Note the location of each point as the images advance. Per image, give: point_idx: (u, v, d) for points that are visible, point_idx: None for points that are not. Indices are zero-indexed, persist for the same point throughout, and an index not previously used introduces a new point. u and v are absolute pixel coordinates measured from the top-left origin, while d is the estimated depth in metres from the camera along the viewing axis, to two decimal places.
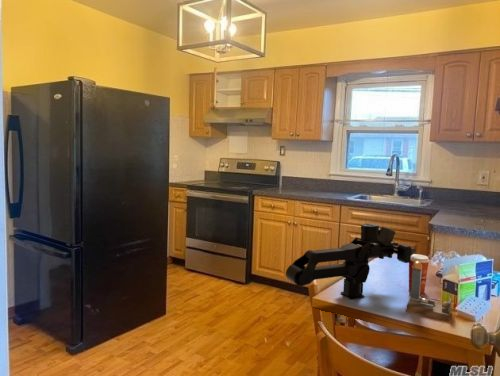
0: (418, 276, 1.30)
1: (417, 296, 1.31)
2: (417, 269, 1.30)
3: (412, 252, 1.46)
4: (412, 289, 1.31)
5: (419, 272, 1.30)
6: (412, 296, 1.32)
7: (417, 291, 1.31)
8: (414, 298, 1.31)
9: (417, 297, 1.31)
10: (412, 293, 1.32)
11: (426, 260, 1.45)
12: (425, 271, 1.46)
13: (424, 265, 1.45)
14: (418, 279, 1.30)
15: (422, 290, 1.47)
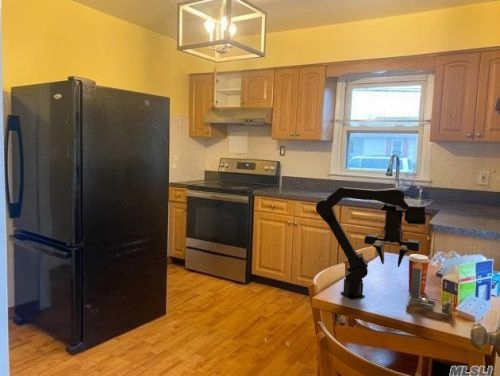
0: (418, 276, 1.30)
1: (417, 296, 1.31)
2: (417, 269, 1.30)
3: (401, 260, 1.36)
4: (412, 289, 1.31)
5: (419, 272, 1.30)
6: (412, 296, 1.32)
7: (417, 291, 1.31)
8: (414, 298, 1.31)
9: (417, 297, 1.31)
10: (412, 293, 1.32)
11: (426, 260, 1.45)
12: (425, 271, 1.46)
13: (424, 265, 1.45)
14: (418, 279, 1.30)
15: (422, 290, 1.47)
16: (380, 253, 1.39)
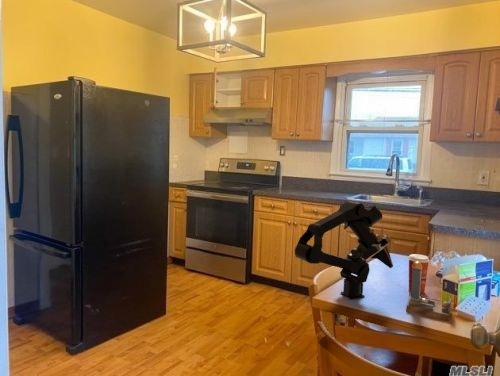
0: (418, 276, 1.30)
1: (417, 296, 1.31)
2: (417, 269, 1.30)
3: None
4: (412, 289, 1.31)
5: (419, 272, 1.30)
6: (412, 296, 1.32)
7: (417, 291, 1.31)
8: (414, 298, 1.31)
9: (417, 297, 1.31)
10: (412, 293, 1.32)
11: (426, 260, 1.45)
12: (425, 271, 1.46)
13: (424, 265, 1.45)
14: (418, 279, 1.30)
15: (422, 290, 1.47)
16: (387, 254, 1.36)
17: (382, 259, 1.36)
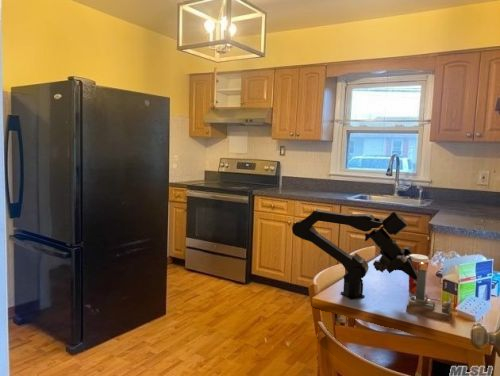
0: (423, 277, 1.29)
1: (422, 297, 1.30)
2: (423, 270, 1.29)
3: None
4: (417, 290, 1.31)
5: (424, 273, 1.29)
6: (417, 297, 1.31)
7: (422, 292, 1.30)
8: (419, 299, 1.30)
9: (422, 298, 1.30)
10: (417, 294, 1.31)
11: (426, 260, 1.45)
12: None
13: None
14: (423, 279, 1.29)
15: None
16: (412, 266, 1.32)
17: (406, 271, 1.32)
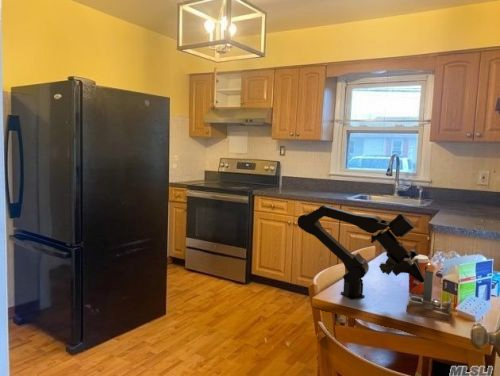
0: (430, 278, 1.28)
1: (429, 299, 1.29)
2: (430, 271, 1.28)
3: None
4: (424, 291, 1.29)
5: (431, 274, 1.28)
6: (424, 299, 1.30)
7: (429, 293, 1.29)
8: (426, 301, 1.29)
9: (430, 300, 1.29)
10: (424, 295, 1.30)
11: (426, 260, 1.45)
12: None
13: (424, 265, 1.45)
14: (431, 281, 1.28)
15: (422, 290, 1.47)
16: (418, 268, 1.30)
17: (413, 273, 1.31)
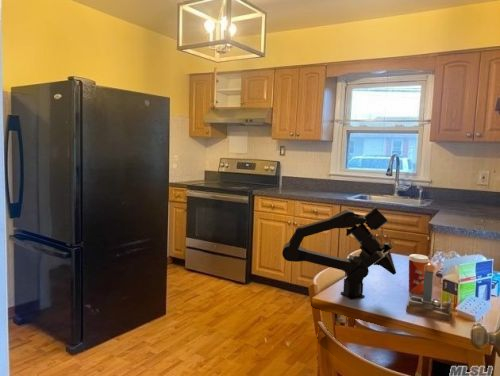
0: (430, 278, 1.28)
1: (429, 299, 1.29)
2: (430, 271, 1.28)
3: None
4: (424, 291, 1.29)
5: (431, 274, 1.28)
6: (424, 299, 1.30)
7: (429, 293, 1.29)
8: (426, 301, 1.29)
9: (430, 300, 1.29)
10: (424, 295, 1.30)
11: (426, 260, 1.45)
12: None
13: (424, 265, 1.45)
14: (431, 281, 1.28)
15: (422, 290, 1.47)
16: (390, 261, 1.35)
17: (385, 266, 1.36)
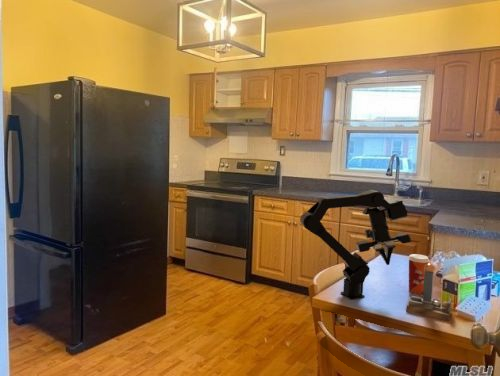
0: (430, 278, 1.28)
1: (429, 299, 1.29)
2: (430, 271, 1.28)
3: None
4: (424, 291, 1.29)
5: (431, 274, 1.28)
6: (424, 299, 1.30)
7: (429, 293, 1.29)
8: (426, 301, 1.29)
9: (430, 300, 1.29)
10: (424, 295, 1.30)
11: (426, 260, 1.45)
12: None
13: (424, 265, 1.45)
14: (431, 281, 1.28)
15: (422, 290, 1.47)
16: (384, 255, 1.39)
17: (381, 254, 1.42)
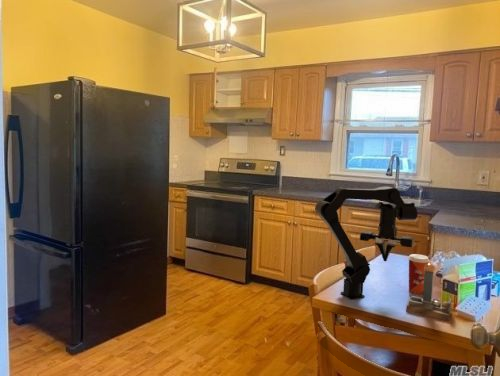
0: (430, 278, 1.28)
1: (429, 299, 1.29)
2: (430, 271, 1.28)
3: (388, 255, 1.43)
4: (424, 291, 1.29)
5: (431, 274, 1.28)
6: (424, 299, 1.30)
7: (429, 293, 1.29)
8: (426, 301, 1.29)
9: (430, 300, 1.29)
10: (424, 295, 1.30)
11: (426, 260, 1.45)
12: None
13: (424, 265, 1.45)
14: (431, 281, 1.28)
15: (422, 290, 1.47)
16: (382, 250, 1.43)
17: None
